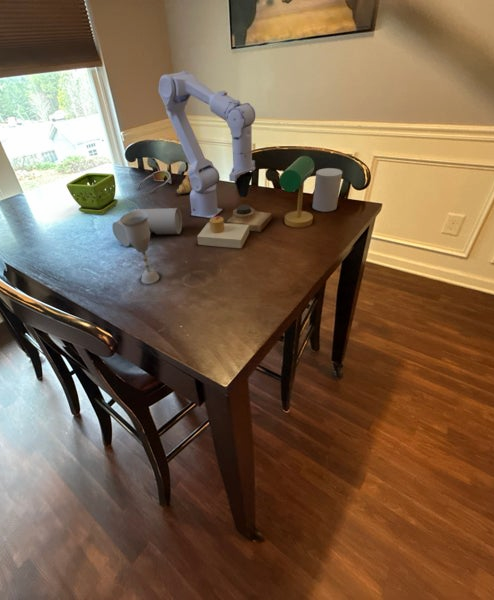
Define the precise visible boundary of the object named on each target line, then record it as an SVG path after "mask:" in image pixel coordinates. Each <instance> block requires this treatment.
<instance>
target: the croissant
mask: <svg viewBox="0 0 494 600" xmlns="http://www.w3.org/2000/svg"><path fill="white" fill-rule="evenodd" d="M192 189H193V188H192V187H191V184H190V178H189V176H188V174H187V175H186V176H185V178H184V179H183V180H182V181H181V183H180V184H179V186H178V188H177V189H176V193H177V194H178V195H185V194H190V193H191V191H192Z"/></svg>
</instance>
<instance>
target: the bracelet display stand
mask: <svg viewBox="0 0 494 600" xmlns="http://www.w3.org/2000/svg"><path fill="white" fill-rule="evenodd" d="M314 170H315V162H314V159H312V158H311V157H310V156H308V155H302V156H300V157H298V158H297V159H296V160H295V161H293V162H292V163H291V165H290V166H288V167H287V168H286V169H285V170H284V171H283V172H282V173H281V174H280V177H279V180H278V181H279V186H280V188H281V189H282V190H283V191H285V192H287V193H294V192H296V191H297V190H298V193H297V207H296V208H297V209H296V210H294V211H289V212H287V213H286V214H285V215H284V224H285V225H286V226H289V227H291V228H306V227H309V226H311V225H312V224H313V220H314V215H313V214H312V213H310V212H308V211H304V210H302V209H303V200H304V199H303V198H304V187H305V182H306V181H307V179H308V178H309V177H310V176H311V175H312V174H313V172H314Z"/></svg>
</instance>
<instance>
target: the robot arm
mask: <svg viewBox="0 0 494 600" xmlns="http://www.w3.org/2000/svg"><path fill="white" fill-rule="evenodd" d="M158 93H159V96H160V98H161V100H162V102H163V105H164V108H165V112H166V115H167V117H168V119H169V121H170V123H171V125H172V128H173V130H174V132H175V134H176V137H177V139H178V140H179V143H180V145H181V148H182V150H183V152H184V154H185V156H186V159H187V161H188V162H189V165H190V167H189V168H188V171H187V175H188V176H189V178H190V184H191V187H192V188H193V189H192V191H191V192H190V193H189V203H190V209H191V213H190V216H193V217H200V218H206V219H211V218H213V217H217V216H218V215H219V214H220V213H221V212H222V211H223V208H221V207H220V208H219V207H218V195H217V187H218V183H219V182H220V179H221V176H220V172H219V170H218V169H217V168H216V167H215V166H214V163H213V162H212V161H211V160H209V159H208V158H205V155H204V152H203V150H202V148H201V146H200V144H199V142H198V139H197V136H196V135H195V132H194V129H193V127H192V125H191V123H190V120H189V118H188V116H187V114H186V111H185V109H186V105H187V104H188V102H189V100H190V98H191V96H192V97H193V98H195V99H197V100H199V101H200V102H202V103H205V104H207V105H208V106H209V109H210V112H212V113H213V114H215V115H216V116H217V117H219V118H221V119H222V120H224V121H225V122H226V124H227V126H228V128H229V130H230V135H231V140H232V141H231V143H232V144H231V145H232V147H231V148H232V166H233V167H232V168H231V171H230V173H229V174H228V179H229V182H234V183H235V186H236V189H237V193H238V196H239V197H240V198H246V197H247V196H248V193H249V189H250V185H251V184H250V183H251V181H252V179H253V177H254V171H255V170H256V160H255V159H254V160H253V149H252V148H253V145H252V143H253V141H252V140H253V139H252V137H253V136H252V128H253V127H252V125H253V124H254V123H255V120H256V111H255V108H254V107H253V106H252V105H251V104H250V103H249V102H245V103H241V101H240V100H239V99H235V98H233V97H232V96H231V95H230V96H229V95H228V91H226V90H222V91H221V90H219V91H217V92H216V91H213V90H212V89H211V88H209V87H208V86H206V85H205V84H204V83H202V82H201V81H199V80H198V79H197V78H196V77H195V75H194V74H192V73H190V72H189V71H187V70H182V71H181V72H175V73H169V74H163V75H161V77H160V78H159V82H158Z"/></svg>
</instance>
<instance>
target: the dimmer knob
mask: <svg viewBox="0 0 494 600" xmlns="http://www.w3.org/2000/svg"><path fill="white" fill-rule="evenodd" d="M209 222H210V230H211V232H213V233H220V232H223V231H224V223H225V219H224V217H222V216H220V215H216V216H215V217H213V218H209Z"/></svg>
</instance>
